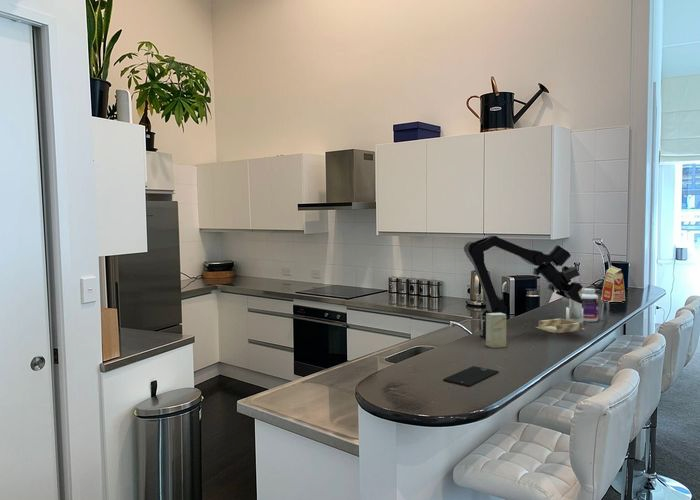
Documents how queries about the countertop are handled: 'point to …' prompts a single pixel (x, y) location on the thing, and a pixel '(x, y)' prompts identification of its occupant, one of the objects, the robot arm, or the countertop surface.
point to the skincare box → (495, 330)
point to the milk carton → (613, 286)
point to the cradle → (559, 325)
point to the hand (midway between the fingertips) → (578, 301)
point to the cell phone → (470, 376)
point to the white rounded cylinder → (573, 319)
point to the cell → (575, 308)
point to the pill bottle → (589, 305)
